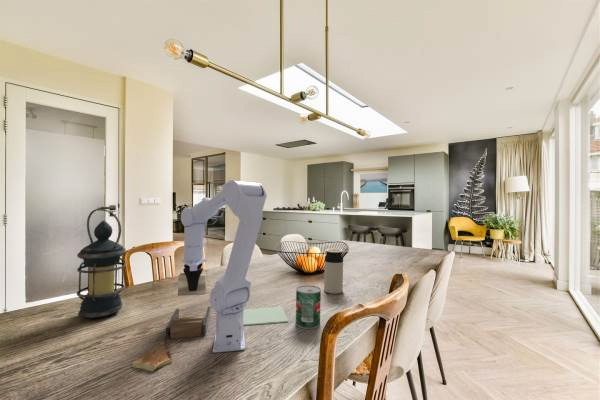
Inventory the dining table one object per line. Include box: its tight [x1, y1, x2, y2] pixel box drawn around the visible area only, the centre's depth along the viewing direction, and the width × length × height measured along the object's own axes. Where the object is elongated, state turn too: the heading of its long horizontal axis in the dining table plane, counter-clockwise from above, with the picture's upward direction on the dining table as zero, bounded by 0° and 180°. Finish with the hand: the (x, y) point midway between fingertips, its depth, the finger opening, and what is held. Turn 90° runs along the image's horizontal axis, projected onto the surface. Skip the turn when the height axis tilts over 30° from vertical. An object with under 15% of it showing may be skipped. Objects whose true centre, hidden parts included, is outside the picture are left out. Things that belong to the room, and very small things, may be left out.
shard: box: [132, 339, 173, 372], centre depth 67 cm, size 11×8×2 cm
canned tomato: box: [295, 284, 322, 330], centre depth 87 cm, size 8×8×11 cm
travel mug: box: [323, 248, 344, 295], centre depth 120 cm, size 8×8×18 cm
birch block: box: [177, 271, 208, 297], centre depth 87 cm, size 4×8×6 cm, turn 103°
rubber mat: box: [243, 306, 289, 327], centre depth 92 cm, size 12×20×1 cm, turn 103°
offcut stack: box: [170, 315, 204, 339], centre depth 79 cm, size 4×8×4 cm, turn 103°
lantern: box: [76, 208, 127, 319], centre depth 91 cm, size 14×13×35 cm
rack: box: [164, 306, 212, 340], centre depth 84 cm, size 14×11×3 cm
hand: (192, 288), depth 87 cm, fingers closed on birch block, 4 cm apart
